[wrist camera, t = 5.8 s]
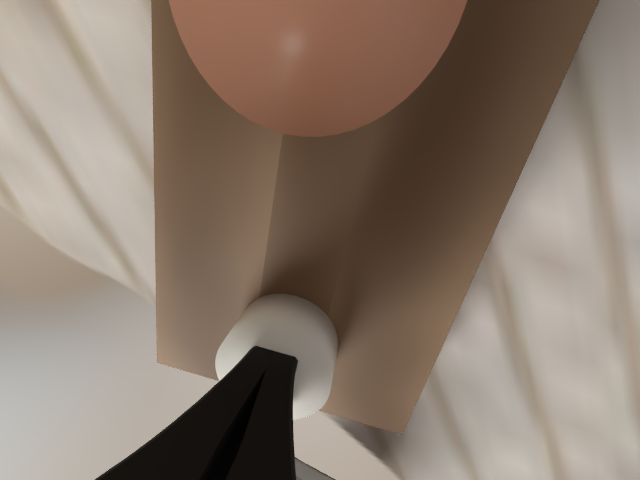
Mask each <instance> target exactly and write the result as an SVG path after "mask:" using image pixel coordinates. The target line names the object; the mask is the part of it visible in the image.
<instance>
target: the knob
mask: <svg viewBox="0 0 640 480" xmlns="http://www.w3.org/2000/svg"><path fill="white" fill-rule="evenodd" d="M254 346H259V347H262V348H266V349H269V350H273V351H276V352H280V353H284V354H287V355H291V356H294V357H296V358H297V360H298V364H297V369H296V373H295V379H294V391H293V420H298V419H302V418H306V417H308V416H310V415H312V414H314V413H316V412H317V411H318V410H320V409H321V408H322V407H323V405H324V404H325V403H326V401H327V400H328V397H329V395H330V390H331V385H332V379H333V373H334V367H335V361H336V355H337V349H338V337H337V332H336V329H335V327H334V325H333V323H332V321H331V320H330V318H329V317H328V316H327V315H326V313H325V312H323V311H322V310H321V309H320V308H319V307H318V306H316V305H315V304H313V303H312V302H310V301H308V300H306V299H304V298H301V297H298V296H295V295H290V294H271V295H266V296H263V297H260V298H258V299H256V300H255V301H253V302H252V303H251V304H249V305H248V306H247V308H246V309H245V310H244V311H243V313H242V314H241V316H240V317H239V319H238V320H237V322H236V323H235V325H234V326H233V328H232V329H231V331H230V332H229V334H228V335H227V337H226V338H225V339H224V341H223V342H222V344H221V346H220V347H219V349H218V351H217V354H216V359H215V368H216V373H217V376H218V379H219V381H220V380H221V379H222V378H223V377H224V376H225V375H226V374H227V373H228V372H229V371H230V370H231V369H232V368H233V367H234V366H235V365H236V364H237V363H238V362H239V361H240V360H241V359H242V358H243V357H244V356H245V355H246V354H247V353H248V351H249V350H250V349H251V348H252V347H254Z"/></svg>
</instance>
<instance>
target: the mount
mask: <svg viewBox="0 0 640 480" xmlns="http://www.w3.org/2000/svg"><path fill="white" fill-rule="evenodd" d="M151 2H152V67H153V132H154V197H155V262H156V327H157V363H160V364H164V365H167V366H170V367H174V368H177V369H180V370H184V371H187V372H191V373H194V374H198V375H201V376H204V377H208V378H211V379H214V380H218V381H219V379H218V376H217V373H216V368H215V359H216V354H217V351H218V349H219V347H220V346H221V344H222V342H223V341H224V339H225V338H226V337H227V335H228V334H229V332H230V331H231V329H232V328H233V326H234V325H235V323H236V322H237V320H238V319H239V317H240V316H241V314H242V313H243V311H244V310H245V309H246V308H247V306H248V305H249V304H251V303H252V302H253V301H255V300H256V299H258V298H260V297H263V296H266V295H271V294H290V295H295V296H298V297H301V298H304V299H306V300H308V301H310V302H312V303H313V304H315V305H316V306H318V307H319V308H320V309H321V310H322V311H323V312H325V313H326V315H327V316H328V317H329V318H330V320H331V321H332V323H333V325H334V327H335V329H336V332H337V337H338V349H337V355H336V361H335V367H334V373H333V379H332V385H331V390H330V395H329V397H328V400H327V401H326V403H325V404H324V405H323V407H322V408H321V409H320V410H319V411H323V412H326V413H329V414H333V415H336V416H340V417H343V418H346V419H350V420H353V421H357V422H360V423H363V424H367V425H370V426H373V427H377V428H380V429H384V430H387V431H390V432H394V433H397V434H401V435H402V434H403V432H404V430H405V428H406V425H407V423H408V421H409V419H410V417H411V414H412V412H413V410H414V408H415V405H416V403H417V401H418V399H419V397H420V394H421V392H422V390H423V388H424V386H425V383H426V381H427V379H428V377H429V375H430V372H431V370H432V368H433V366H434V364H435V361H436V359H437V357H438V355H439V353H440V350H441V348H442V346H443V344H444V342H445V339H446V337H447V335H448V333H449V331H450V328H451V326H452V324H453V322H454V320H455V317H456V315H457V313H458V311H459V309H460V306H461V304H462V302H463V300H464V298H465V295H466V293H467V291H468V289H469V287H470V284H471V282H472V280H473V278H474V275H475V273H476V271H477V269H478V267H479V264H480V262H481V260H482V258H483V256H484V253H485V251H486V249H487V247H488V245H489V242H490V240H491V238H492V236H493V234H494V231H495V229H496V227H497V225H498V223H499V220H500V218H501V216H502V214H503V212H504V209H505V207H506V205H507V203H508V201H509V198H510V196H511V194H512V192H513V190H514V187H515V185H516V183H517V181H518V179H519V176H520V174H521V172H522V170H523V168H524V165H525V163H526V161H527V159H528V157H529V154H530V152H531V150H532V148H533V146H534V143H535V141H536V139H537V137H538V134H539V132H540V130H541V128H542V126H543V123H544V121H545V119H546V117H547V115H548V112H549V110H550V108H551V106H552V104H553V101H554V99H555V97H556V95H557V93H558V90H559V88H560V86H561V84H562V82H563V79H564V77H565V75H566V73H567V71H568V68H569V66H570V64H571V62H572V60H573V57H574V55H575V53H576V51H577V49H578V46H579V44H580V42H581V40H582V38H583V35H584V33H585V31H586V29H587V27H588V24H589V22H590V20H591V18H592V16H593V13H594V11H595V9H596V7H597V5H598V2H599V0H468V1H467V3H466V6H465V9H464V11H463V14H462V17H461V19H460V22H459V25H458V27H457V29H456V31H455V33H454V35H453V37H452V39H451V41H450V43H449V45H448V47H447V48H446V50H445V51H444V53H443V54H442V56H441V58H440V59H439V61H438V62H437V64H436V65H435V67H434V68H433V69H432V71H431V72H430V73H429V74H428V76H427V77H426V78H425V79H424V81H423V82H422V83H421V84H420V85H419V86H418V87H417V88H416V89H415V90H414V91H413V92H412V93H411V94H410V95H409V96H408V97H407V98H406V99H405V100H404V101H403V102H401V103H400V104H399V105H397V106H396V107H395V108H394V109H392V110H391V111H390V112H388V113H387V114H385V115H383V116H382V117H380V118H378V119H376V120H375V121H373V122H371V123H369V124H367V125H364V126H362V127H360V128H357V129H355V130H352V131H348V132H344V133H341V134H337V135H330V136H322V137H301V136H294V135H288V134H283V133H280V132H277V131H273V130H270V129H267V128H265V127H263V126H261V125H259V124H256V123H254V122H252V121H251V120H249V119H247V118H246V117H244V116H243V115H241V114H239V113H238V112H237V111H235V110H234V109H233V108H232V107H231V106H229V105H228V104H227V103H226V102H224V101H223V100H222V99H221V97H220V96H219V95H218V94H217V93H216V92H215V91H214V90H213V89H212V88H211V87H210V86H209V84H208V83H207V82H206V80H205V79H204V78H203V77H202V75H201V74H200V73H199V71H198V69H197V68H196V66H195V64H194V63H193V61H192V59H191V58H190V56H189V54H188V52H187V50H186V48H185V46H184V44H183V42H182V40H181V37H180V35H179V32H178V29H177V27H176V24H175V21H174V18H173V15H172V11H171V7H170V3H169V0H151Z"/></svg>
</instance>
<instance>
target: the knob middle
mask: <svg viewBox="0 0 640 480" xmlns="http://www.w3.org/2000/svg"><path fill="white" fill-rule="evenodd" d="M467 1H468V0H169V3H170V7H171V11H172V15H173V18H174V21H175V24H176V27H177V29H178V32H179V35H180V37H181V40H182V42H183V44H184V46H185V48H186V50H187V52H188V54H189V56H190V58H191V59H192V61H193V63H194V64H195V66H196V68H197V69H198V71H199V73H200V74H201V75H202V77H203V78H204V79H205V80H206V82H207V83H208V84H209V86H210V87H211V88H212V89H213V90H214V91H215V92H216V93H217V94H218V95H219V96H220V97H221V99H222V100H223V101H224V102H226V103H227V104H228V105H229V106H231V107H232V108H233V109H234V110H235V111H237V112H238V113H239V114H241V115H243V116H244V117H246V118H247V119H249V120H251V121H252V122H254V123H256V124H259V125H261V126H263V127H265V128H267V129H270V130H273V131H277V132H280V133H283V134H288V135H294V136H301V137H322V136H330V135H337V134H341V133H344V132H348V131H352V130H355V129H357V128H360V127H362V126H364V125H367V124H369V123H371V122H373V121H375V120H376V119H378V118H380V117H382V116H383V115H385V114H387V113H388V112H390V111H391V110H392V109H394V108H395V107H396V106H397V105H399V104H400V103H401V102H403V101H404V100H405V99H406V98H407V97H408V96H409V95H410V94H411V93H412V92H413V91H414V90H415V89H416V88H417V87H418V86H419V85H420V84H421V83H422V82H423V81H424V79H425V78H426V77H427V76H428V74H429V73H430V72H431V71H432V69H433V68H434V67H435V65H436V64H437V62H438V61H439V59H440V58H441V56H442V54H443V53H444V51H445V50H446V48H447V47H448V45H449V43H450V41H451V39H452V37H453V35H454V33H455V31H456V29H457V27H458V25H459V22H460V19H461V17H462V14H463V11H464V9H465V6H466V3H467Z"/></svg>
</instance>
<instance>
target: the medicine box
mask: <svg viewBox="0 0 640 480" xmlns="http://www.w3.org/2000/svg"><path fill="white" fill-rule="evenodd" d="M295 470H296V480H335V479H333V478H331V477H330V476H328V475H326V474H324V473H322V472H320V471H319V470H317V469H315V468H313V467H311V466H309V465H307V464H305V463H304V462H302V461H300V460H299V459H297V458H296V457H295Z"/></svg>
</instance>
